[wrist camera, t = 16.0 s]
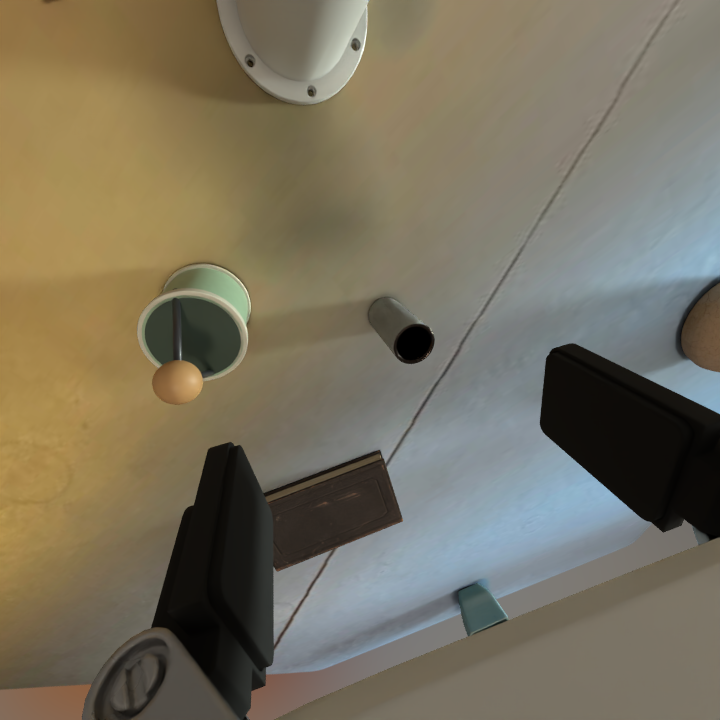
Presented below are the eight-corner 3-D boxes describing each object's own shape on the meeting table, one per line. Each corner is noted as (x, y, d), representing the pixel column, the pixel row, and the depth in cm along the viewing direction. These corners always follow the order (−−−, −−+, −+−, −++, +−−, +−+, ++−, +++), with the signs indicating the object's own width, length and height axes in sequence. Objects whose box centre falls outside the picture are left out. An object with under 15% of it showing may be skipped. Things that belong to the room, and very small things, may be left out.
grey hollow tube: (375, 336, 44) (401, 371, 35) (362, 306, 42) (387, 335, 33) (405, 321, 45) (439, 352, 35) (395, 290, 42) (428, 316, 33)
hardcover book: (239, 502, 51) (238, 515, 49) (379, 449, 53) (383, 459, 51) (278, 560, 59) (278, 573, 57) (399, 512, 61) (403, 523, 59)
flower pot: (487, 593, 81) (510, 636, 73) (453, 608, 81) (473, 652, 73) (484, 574, 77) (508, 617, 69) (449, 589, 76) (469, 634, 68)
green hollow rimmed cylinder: (185, 348, 39) (146, 274, 35) (261, 329, 40) (234, 255, 36) (138, 459, 25) (60, 357, 20) (260, 424, 26) (214, 319, 21)
